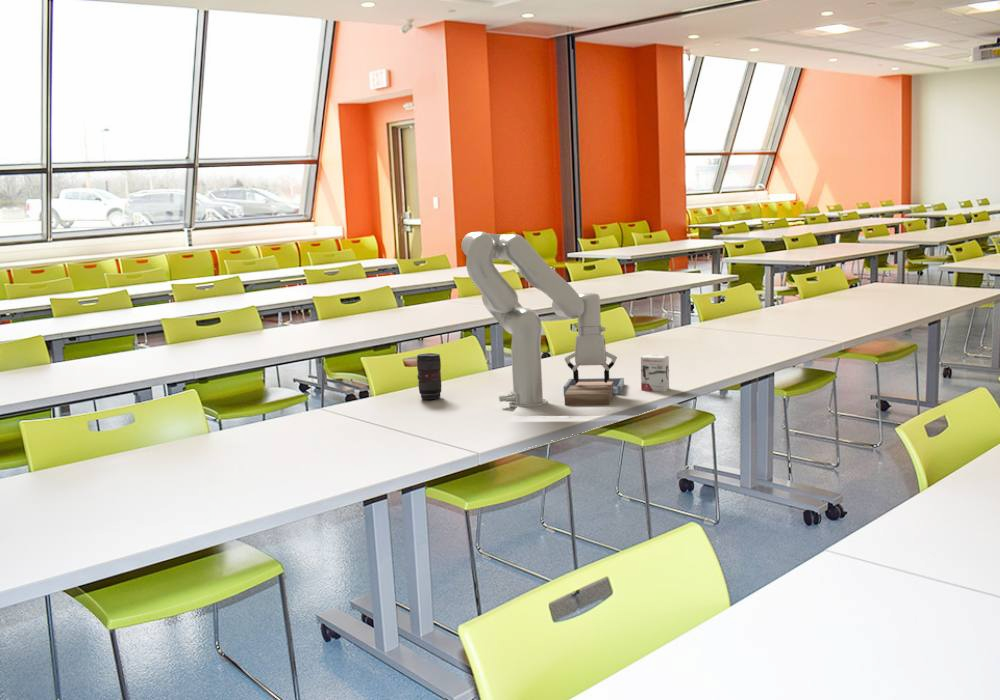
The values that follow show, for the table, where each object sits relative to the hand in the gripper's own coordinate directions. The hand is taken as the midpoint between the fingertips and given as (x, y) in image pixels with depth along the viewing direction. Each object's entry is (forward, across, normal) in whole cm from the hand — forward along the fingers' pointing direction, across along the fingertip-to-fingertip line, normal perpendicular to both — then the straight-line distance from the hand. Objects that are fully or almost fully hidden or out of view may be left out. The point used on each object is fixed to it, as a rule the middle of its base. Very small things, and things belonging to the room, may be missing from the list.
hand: (591, 382), depth 298 cm
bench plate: (+4, 0, +7) cm, 9 cm away
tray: (+4, 0, -9) cm, 10 cm away
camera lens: (+5, +56, 0) cm, 56 cm away
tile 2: (+1, 0, -7) cm, 7 cm away
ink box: (+5, -20, -8) cm, 22 cm away
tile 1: (+4, 0, -3) cm, 5 cm away
